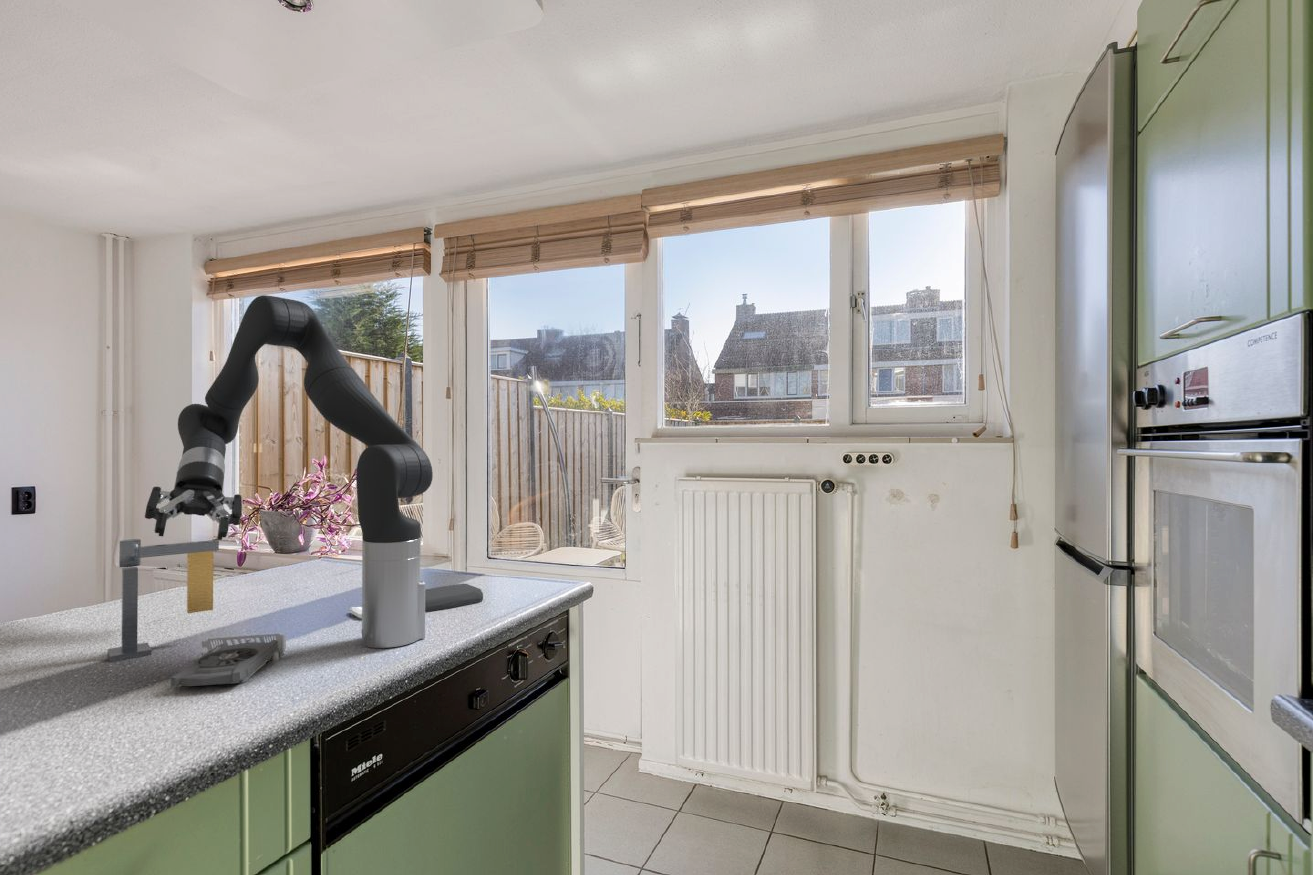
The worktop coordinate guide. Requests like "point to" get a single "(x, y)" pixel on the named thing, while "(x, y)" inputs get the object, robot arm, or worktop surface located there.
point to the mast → (129, 620)
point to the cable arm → (196, 566)
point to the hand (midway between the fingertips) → (191, 534)
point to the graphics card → (231, 660)
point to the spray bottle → (444, 598)
